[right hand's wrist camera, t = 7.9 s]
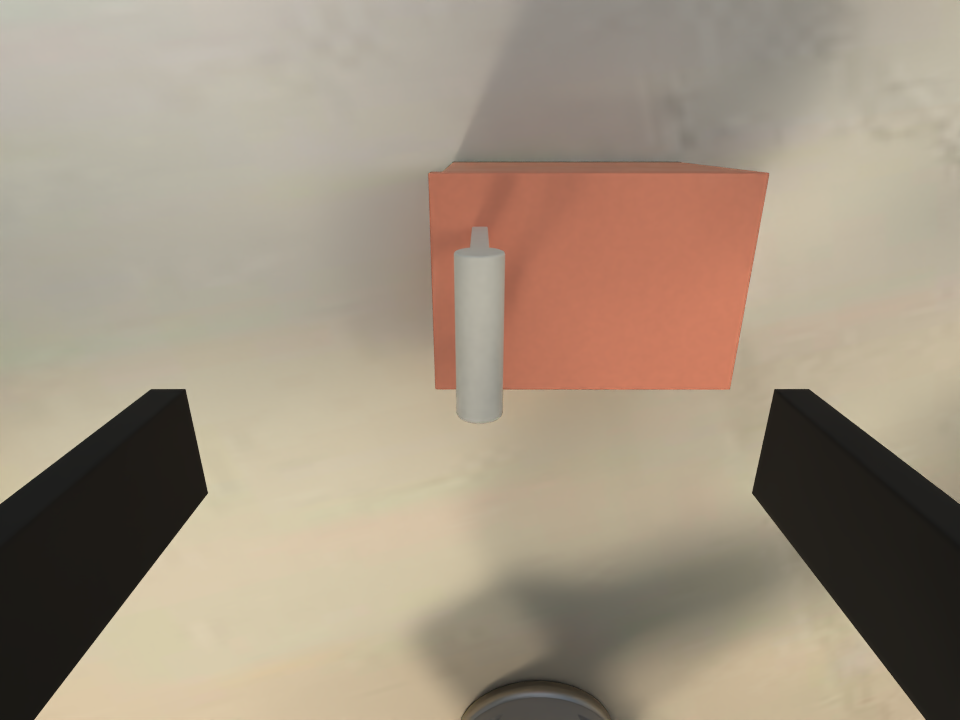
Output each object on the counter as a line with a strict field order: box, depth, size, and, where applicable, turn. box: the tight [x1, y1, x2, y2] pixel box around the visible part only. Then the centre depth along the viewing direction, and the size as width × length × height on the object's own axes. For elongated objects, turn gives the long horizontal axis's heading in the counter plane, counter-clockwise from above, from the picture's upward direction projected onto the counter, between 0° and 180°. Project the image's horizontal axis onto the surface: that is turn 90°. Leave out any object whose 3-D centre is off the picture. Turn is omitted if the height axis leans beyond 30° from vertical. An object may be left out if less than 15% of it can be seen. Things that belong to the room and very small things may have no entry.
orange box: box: [428, 172, 769, 424], centre depth 23 cm, size 15×10×8 cm
